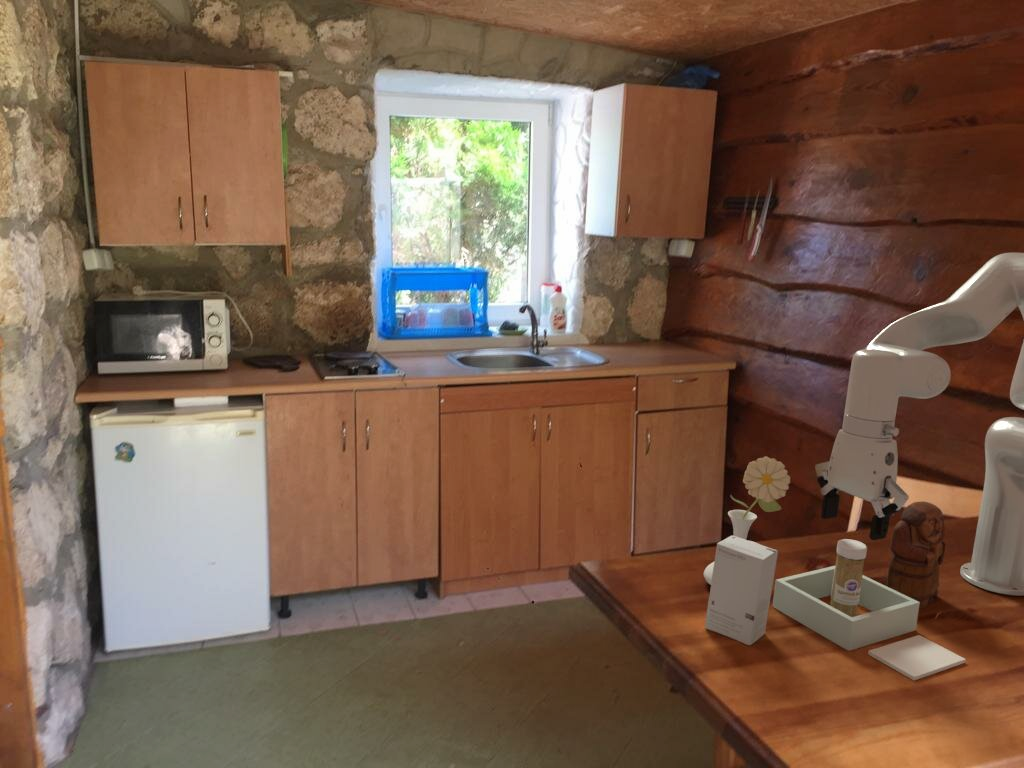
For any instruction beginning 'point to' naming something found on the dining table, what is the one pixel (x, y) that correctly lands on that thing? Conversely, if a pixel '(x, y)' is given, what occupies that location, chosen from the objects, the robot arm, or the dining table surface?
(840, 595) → the sprinkles bottle
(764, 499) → the flower in vase
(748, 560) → the skincare box
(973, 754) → the dining table surface
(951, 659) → the mat
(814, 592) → the open box
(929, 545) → the wooden figurine
